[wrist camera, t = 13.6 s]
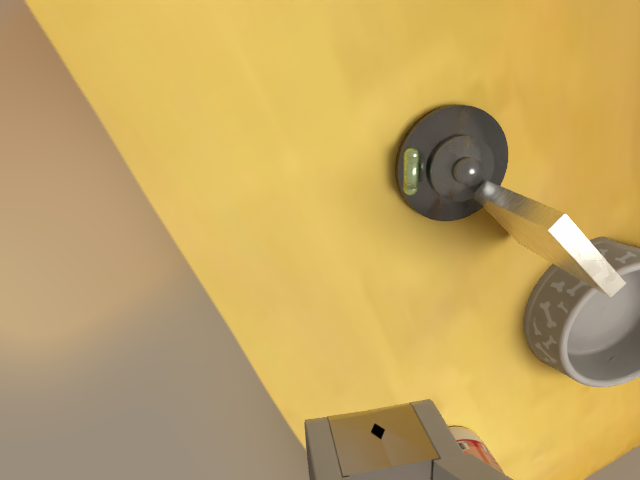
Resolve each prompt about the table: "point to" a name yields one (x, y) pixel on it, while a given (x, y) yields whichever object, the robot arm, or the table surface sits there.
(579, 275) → the upright slab
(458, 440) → the white plastic bottle
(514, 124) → the table surface
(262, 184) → the table surface
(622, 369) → the dog bowl
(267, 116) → the table surface
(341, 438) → the robot arm
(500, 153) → the base
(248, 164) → the table surface
